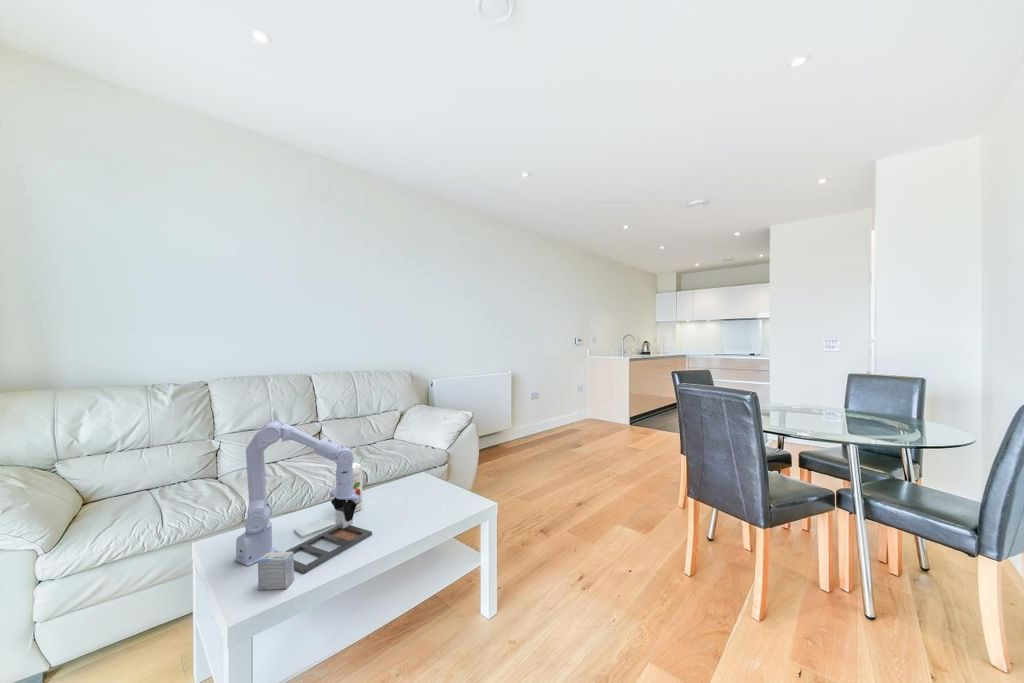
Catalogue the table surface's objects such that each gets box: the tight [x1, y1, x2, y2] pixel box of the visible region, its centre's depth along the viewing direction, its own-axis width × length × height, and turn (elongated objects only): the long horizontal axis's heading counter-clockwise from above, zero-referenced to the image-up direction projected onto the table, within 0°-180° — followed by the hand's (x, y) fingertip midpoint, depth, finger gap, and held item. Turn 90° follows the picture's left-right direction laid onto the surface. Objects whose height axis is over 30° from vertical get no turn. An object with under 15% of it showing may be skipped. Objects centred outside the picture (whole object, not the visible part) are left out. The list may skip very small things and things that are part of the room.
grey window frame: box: [284, 524, 373, 575], centre depth 128 cm, size 26×16×1 cm, turn 152°
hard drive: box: [293, 517, 336, 540], centre depth 142 cm, size 2×8×12 cm
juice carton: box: [346, 462, 364, 513], centre depth 158 cm, size 8×9×19 cm
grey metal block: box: [334, 507, 354, 529], centre depth 135 cm, size 4×4×6 cm
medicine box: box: [257, 551, 295, 591], centre depth 108 cm, size 8×4×9 cm, turn 92°
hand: (345, 519), depth 135 cm, fingers closed on grey metal block, 4 cm apart
